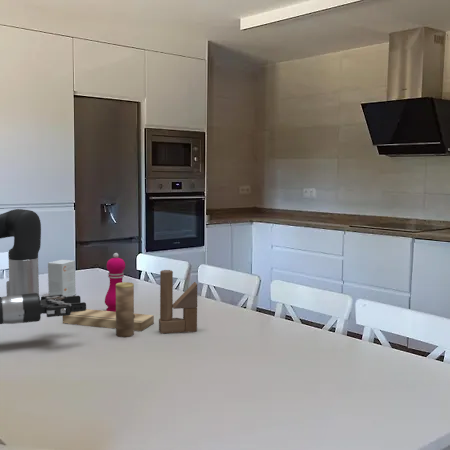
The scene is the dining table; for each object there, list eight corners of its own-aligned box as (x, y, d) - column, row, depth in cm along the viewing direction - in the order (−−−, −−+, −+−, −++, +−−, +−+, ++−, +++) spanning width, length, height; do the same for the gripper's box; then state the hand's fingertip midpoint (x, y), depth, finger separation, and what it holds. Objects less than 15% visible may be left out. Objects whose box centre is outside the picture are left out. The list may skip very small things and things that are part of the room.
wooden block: (197, 331, 165) (197, 270, 163) (160, 334, 162) (160, 272, 160) (194, 328, 168) (195, 268, 166) (158, 330, 165) (158, 269, 164)
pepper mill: (130, 311, 187) (129, 251, 185) (124, 317, 180) (123, 254, 178) (108, 310, 188) (108, 251, 186) (101, 316, 180) (101, 254, 178)
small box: (61, 293, 212) (61, 259, 211) (76, 295, 210) (75, 260, 209) (47, 298, 205) (47, 262, 203) (62, 299, 202) (62, 263, 201)
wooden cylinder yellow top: (112, 336, 159) (112, 285, 158) (125, 328, 167) (125, 280, 165) (129, 337, 158) (128, 286, 156) (141, 330, 165) (141, 281, 164)
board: (62, 323, 172) (62, 314, 171) (78, 316, 180) (78, 308, 180) (141, 331, 164) (141, 322, 164) (153, 323, 173) (153, 314, 173)
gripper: (19, 315, 156) (78, 310, 162) (23, 329, 143) (88, 322, 149) (18, 289, 155) (78, 284, 162) (22, 300, 142) (87, 294, 149)
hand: (83, 302), depth 155 cm, fingers open, 8 cm apart
